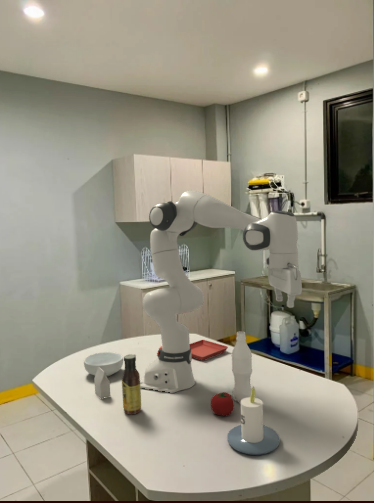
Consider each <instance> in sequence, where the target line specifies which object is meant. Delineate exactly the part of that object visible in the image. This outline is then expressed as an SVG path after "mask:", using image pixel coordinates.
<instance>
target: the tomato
mask: <svg viewBox="0 0 374 503" xmlns="http://www.w3.org/2000/svg"><path fill="white" fill-rule="evenodd" d="M210 408H211V409H210V410H211V411H212V413H213V414H214V415H216V416H221V417H228V416H230V415H231V414H232V413H233V412H234V409H235V402H234V397H233V395H231V393H228V392H225V391H224V392H223V391H221V392H220V393H215V395H213V396H212V397H211V399H210Z"/></svg>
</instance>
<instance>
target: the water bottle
mask: <svg viewBox="0 0 374 503" xmlns="http://www.w3.org/2000/svg"><path fill="white" fill-rule="evenodd" d="M235 339H236V343H235V345H234V347H233V349H232V351H231V365H232V366H231V371H232V374H233V379H234V387H233V390H232V398H233V401H235V402H237V403H238V404H240V405H241V400H242V399H244V398H248V397H251V391H252V388H253V387H252V384H251V377H252V376H251V375H252V373H253V365H252V364H253V362H252V360H253V359H252V357H253V355H252V351H251V349H250V347H249V346H248V344H247V341H246V340H247V336H246V332H245V331H243V330H242V331H241V330H240V331H237V332H236V338H235Z"/></svg>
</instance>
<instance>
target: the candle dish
mask: <svg viewBox="0 0 374 503" xmlns="http://www.w3.org/2000/svg"><path fill="white" fill-rule="evenodd" d="M226 438H227V442H228V445H229V446H230V447H231V448H233V449H234V450H236V451H238V452H239V453H242V454H246V455H251V456H261V455H265V454H266V455H267V454H269V453H271V452H273V451H275V450H276V449H277V448H278V447H279V445H280V443H281V442H280V435H279V434H278V432H277V431H276V430H274V428H271V427H270V426H267V425H264V424H263V440H262V441H260V442H257V443H250V442H247V441H245V440H243V439H242V432H241V424H240V425H236V426H234V427H232V428H231V429H230V430H229V431H228V433H227V437H226Z"/></svg>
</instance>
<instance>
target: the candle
mask: <svg viewBox="0 0 374 503" xmlns="http://www.w3.org/2000/svg"><path fill="white" fill-rule="evenodd" d="M251 388H252V391H251V397H248V398H244V399H242V400H241V404H240V422H241V423H240V425H241V432H242V439H243V440H245V441H247V442H250V443H257V442H260V441H262V440H263V425H264V411H263V410H264V409H263V408H264V407H263V400H261V399H260V398H257V397H255V396H256V390H255V387H254V386H252V387H251Z"/></svg>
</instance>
